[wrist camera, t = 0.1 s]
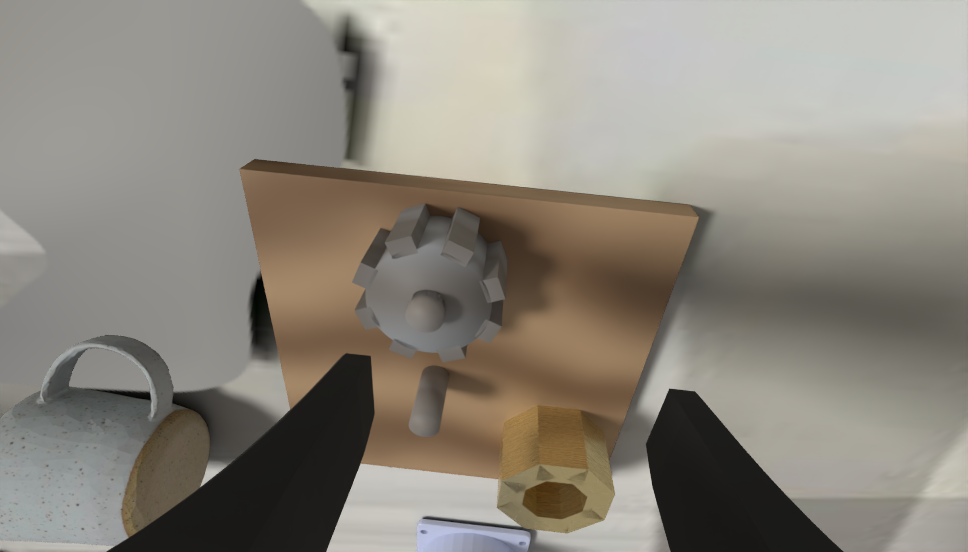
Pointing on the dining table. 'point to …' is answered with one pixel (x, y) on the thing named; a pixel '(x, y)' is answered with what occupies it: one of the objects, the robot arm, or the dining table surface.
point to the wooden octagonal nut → (554, 470)
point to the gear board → (543, 312)
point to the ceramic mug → (97, 454)
